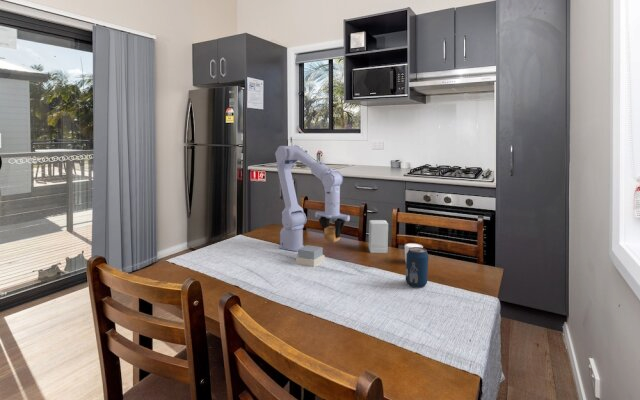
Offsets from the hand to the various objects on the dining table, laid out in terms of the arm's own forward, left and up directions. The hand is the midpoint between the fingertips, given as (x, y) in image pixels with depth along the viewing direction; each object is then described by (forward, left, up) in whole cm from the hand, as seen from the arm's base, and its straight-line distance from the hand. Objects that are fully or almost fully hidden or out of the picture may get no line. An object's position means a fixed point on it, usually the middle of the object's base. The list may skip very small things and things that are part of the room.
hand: (331, 236), depth 156 cm
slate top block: (-4, -9, -6) cm, 12 cm away
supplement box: (+12, +19, -9) cm, 24 cm away
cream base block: (-4, -9, -9) cm, 14 cm away
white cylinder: (+30, +11, -9) cm, 33 cm away
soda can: (+38, -10, -9) cm, 40 cm away
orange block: (0, 0, -1) cm, 1 cm away
